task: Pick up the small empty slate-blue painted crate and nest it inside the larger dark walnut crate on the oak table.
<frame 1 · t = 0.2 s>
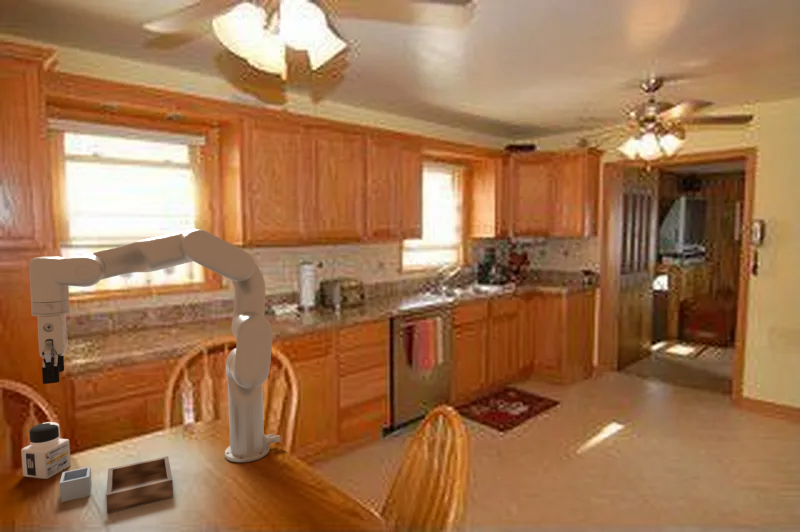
hand: (54, 377, 120), 30 cm above the table, fingers open, 9 cm apart
container: (47, 471, 134), on the table
small crate: (76, 493, 123), on the table
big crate: (140, 491, 124), on the table
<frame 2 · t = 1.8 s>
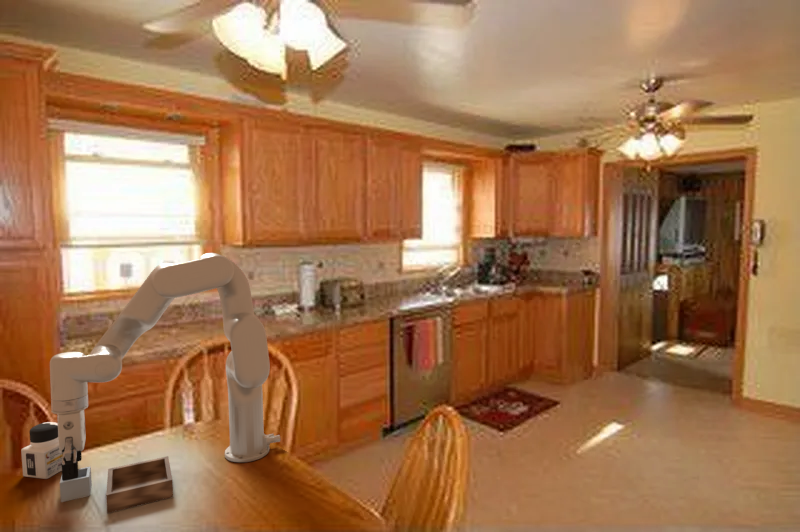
hand: (72, 470, 123), 6 cm above the table, fingers open, 9 cm apart
nothing on the table moved.
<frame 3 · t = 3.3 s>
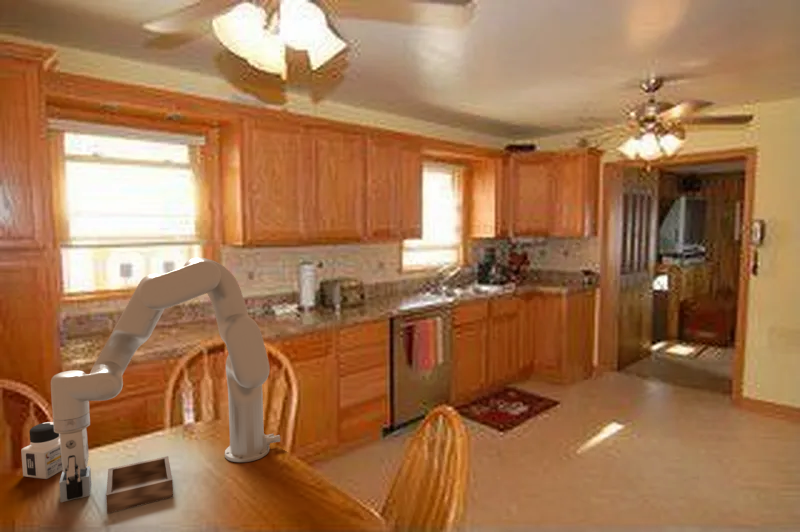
hand: (76, 490, 123), 1 cm above the table, fingers closed on small crate, 6 cm apart
small crate: (76, 493, 123), on the table, touching gripper
everything else where it was.
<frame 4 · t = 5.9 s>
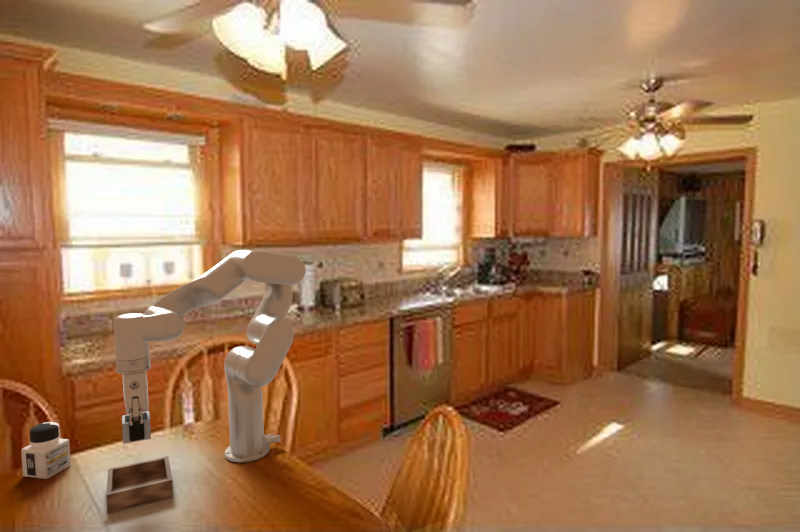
hand: (137, 434, 123), 15 cm above the table, fingers closed on small crate, 6 cm apart
small crate: (137, 436, 123), point 14 cm above the table, touching gripper
everything else where it was.
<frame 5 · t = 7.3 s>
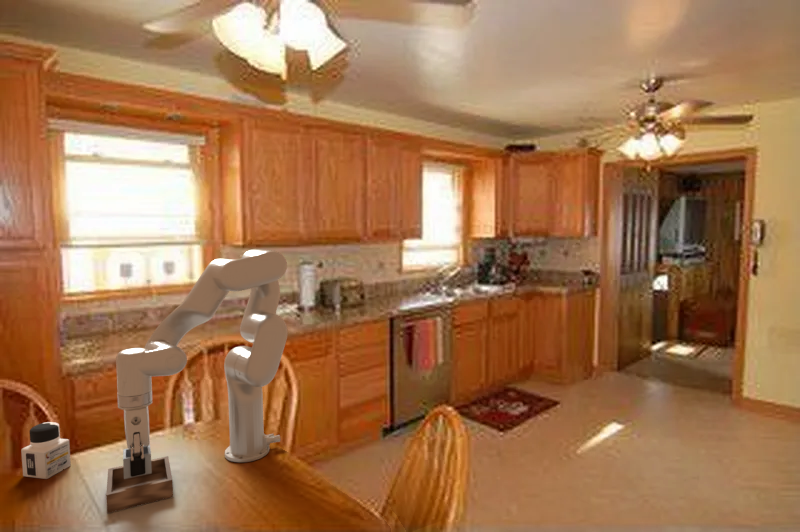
hand: (137, 468, 123), 6 cm above the table, fingers closed on small crate, 6 cm apart
small crate: (137, 470, 123), point 6 cm above the table, touching gripper
everything else where it was.
when the fingers open (4 cm above the table, at t = 8.7 s): small crate drops 2 cm, resting on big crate.
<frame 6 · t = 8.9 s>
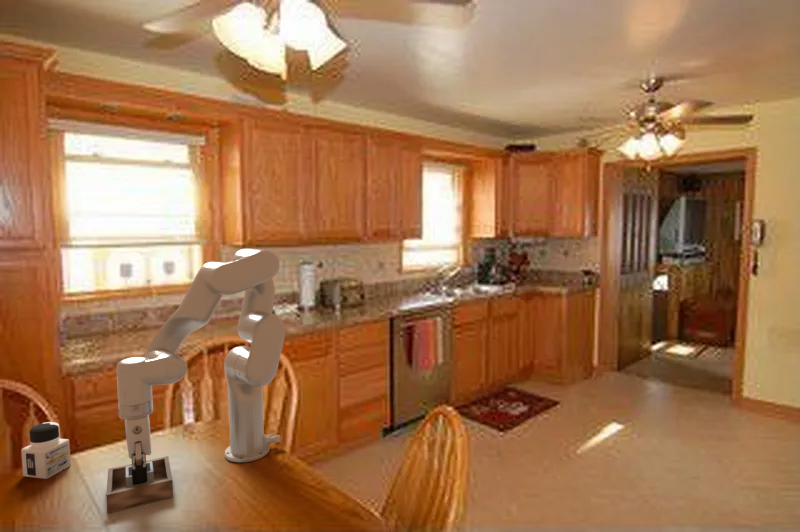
hand: (139, 475, 124), 4 cm above the table, fingers open, 8 cm apart
small crate: (140, 488, 124), point 1 cm above the table, touching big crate
everything else where it was.
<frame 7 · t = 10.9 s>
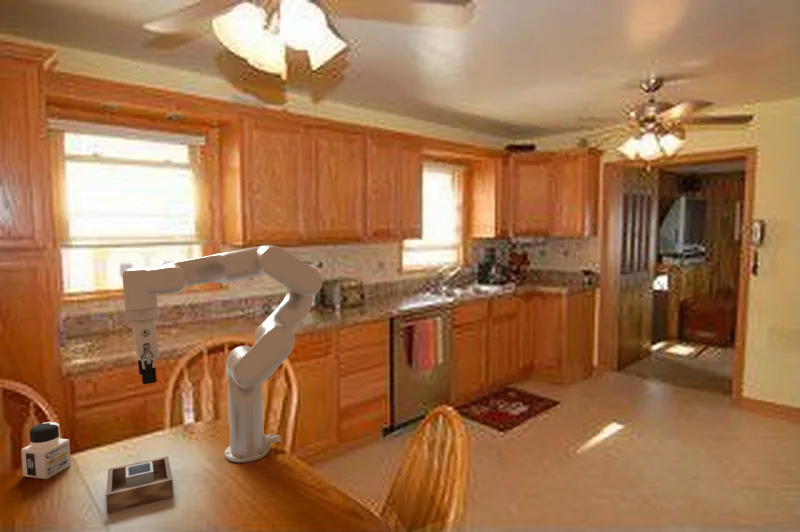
hand: (147, 378, 131), 26 cm above the table, fingers open, 9 cm apart
nothing on the table moved.
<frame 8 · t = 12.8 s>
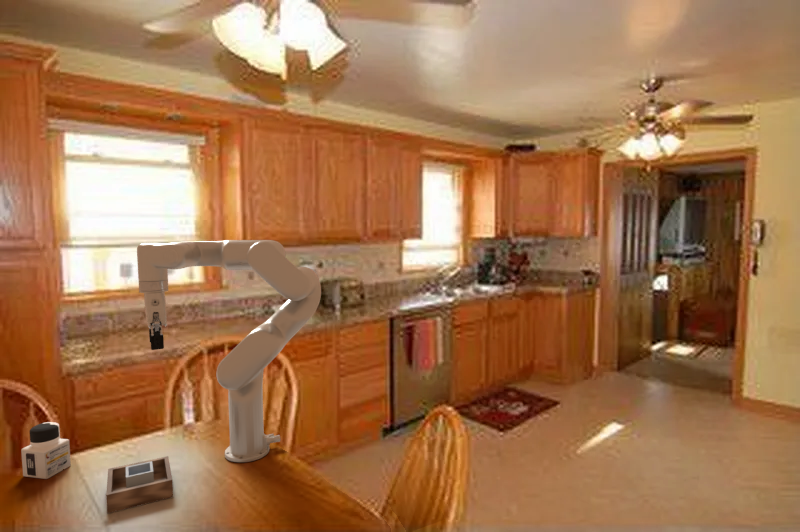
hand: (156, 345, 141), 32 cm above the table, fingers open, 9 cm apart
nothing on the table moved.
at the end: small crate inside the target area on the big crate (0.0 cm from its centre), point 0.8 cm above the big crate's base; small crate tilted 0°; the gripper is holding nothing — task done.
